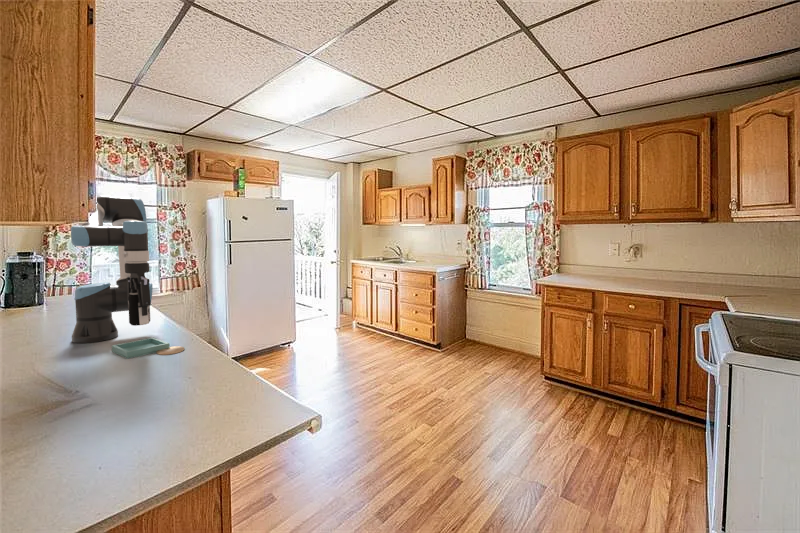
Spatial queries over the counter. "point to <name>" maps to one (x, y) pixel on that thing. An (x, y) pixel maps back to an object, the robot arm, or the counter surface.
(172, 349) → the cork coaster
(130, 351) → the tray
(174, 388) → the counter surface
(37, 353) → the counter surface
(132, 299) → the beverage can
